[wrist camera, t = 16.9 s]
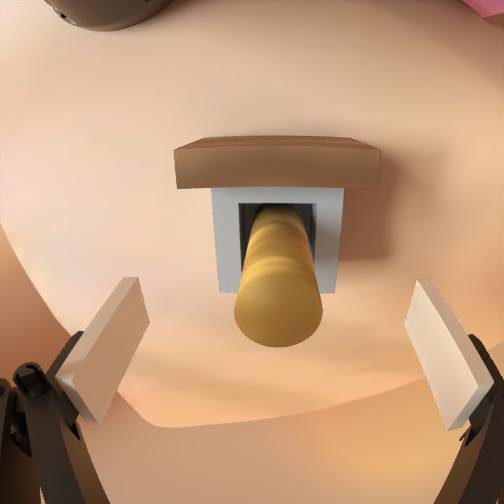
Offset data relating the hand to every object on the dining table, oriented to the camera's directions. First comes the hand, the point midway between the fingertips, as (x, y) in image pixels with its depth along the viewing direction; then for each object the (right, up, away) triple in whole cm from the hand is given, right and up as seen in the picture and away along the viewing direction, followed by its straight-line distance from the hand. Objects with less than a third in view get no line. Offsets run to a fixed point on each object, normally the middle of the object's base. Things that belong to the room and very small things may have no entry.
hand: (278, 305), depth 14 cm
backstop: (+1, +11, +10) cm, 15 cm away
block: (+1, +6, +13) cm, 14 cm away
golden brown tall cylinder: (+1, +5, +12) cm, 13 cm away
